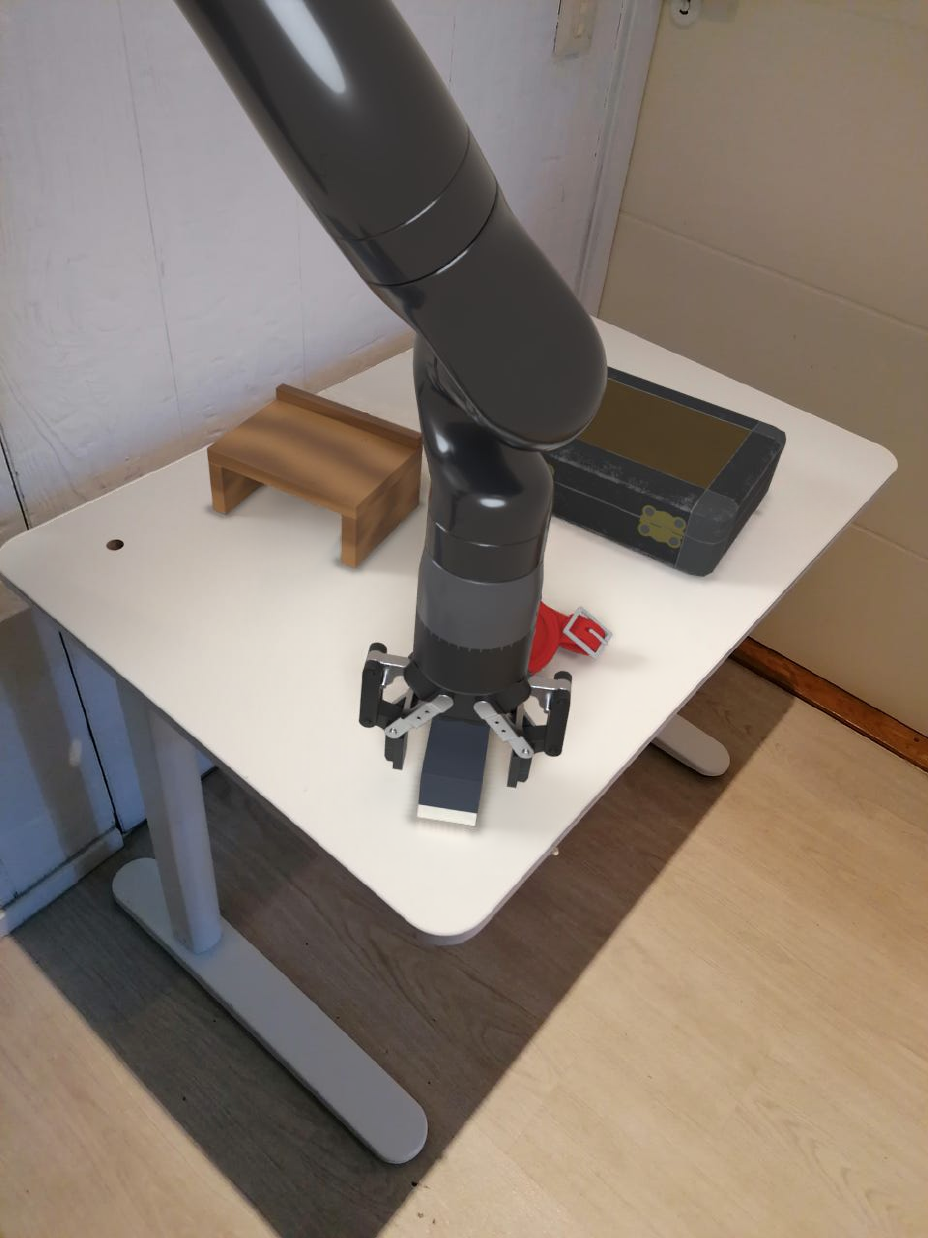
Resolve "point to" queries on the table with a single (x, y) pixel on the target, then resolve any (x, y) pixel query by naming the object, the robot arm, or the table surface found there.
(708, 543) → the cash box
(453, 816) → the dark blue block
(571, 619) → the tracker holder
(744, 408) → the table surface
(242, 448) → the shoe shelf
